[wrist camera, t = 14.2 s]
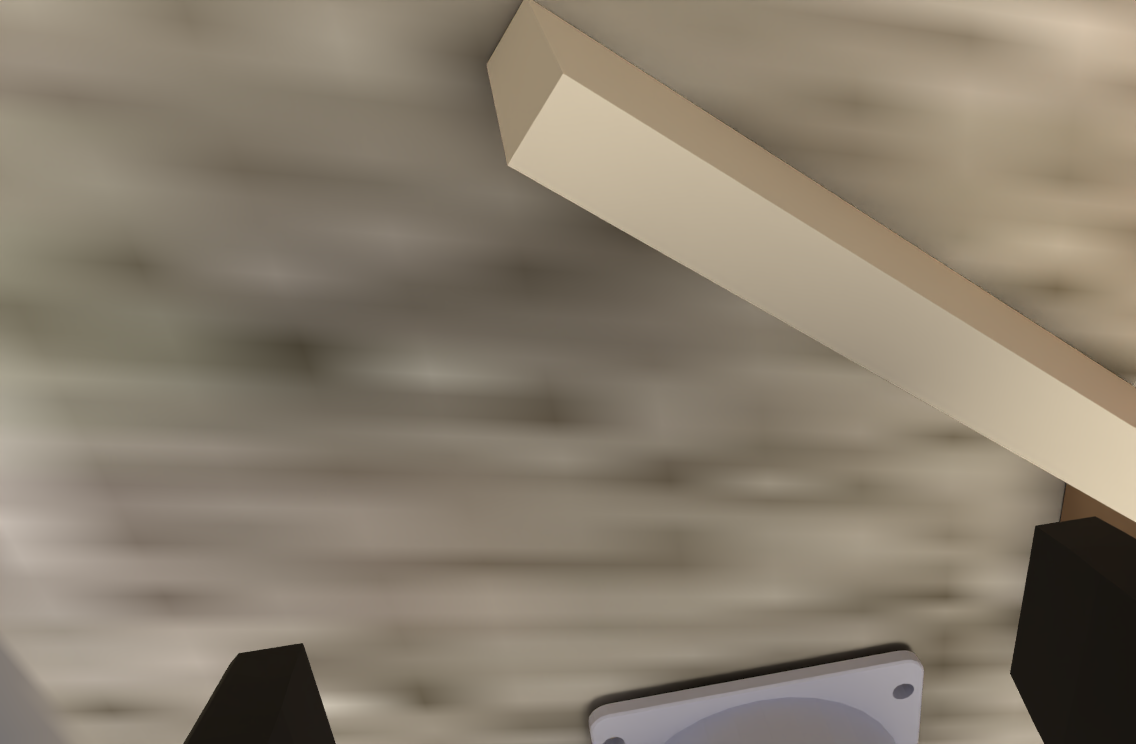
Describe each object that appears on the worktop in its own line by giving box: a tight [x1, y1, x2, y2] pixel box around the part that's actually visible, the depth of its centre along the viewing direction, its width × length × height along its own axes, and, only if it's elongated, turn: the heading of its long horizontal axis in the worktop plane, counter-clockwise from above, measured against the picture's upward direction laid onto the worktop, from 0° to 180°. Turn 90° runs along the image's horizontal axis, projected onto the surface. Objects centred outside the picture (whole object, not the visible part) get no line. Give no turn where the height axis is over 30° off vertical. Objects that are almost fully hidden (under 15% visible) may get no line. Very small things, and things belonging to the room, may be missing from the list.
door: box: [487, 0, 1136, 522], centre depth 16 cm, size 15×1×5 cm, turn 58°
